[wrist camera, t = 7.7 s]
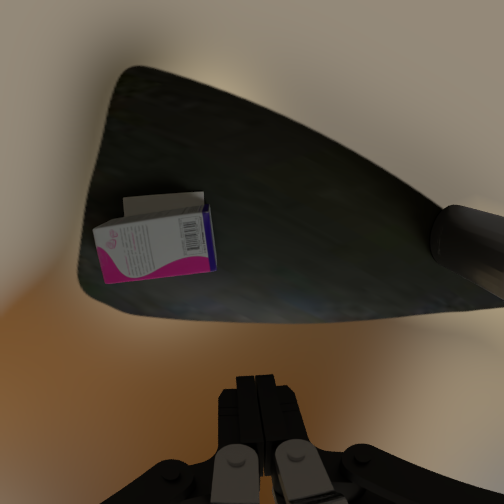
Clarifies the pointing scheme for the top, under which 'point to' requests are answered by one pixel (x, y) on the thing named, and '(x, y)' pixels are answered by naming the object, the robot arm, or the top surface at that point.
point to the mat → (161, 202)
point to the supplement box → (156, 245)
